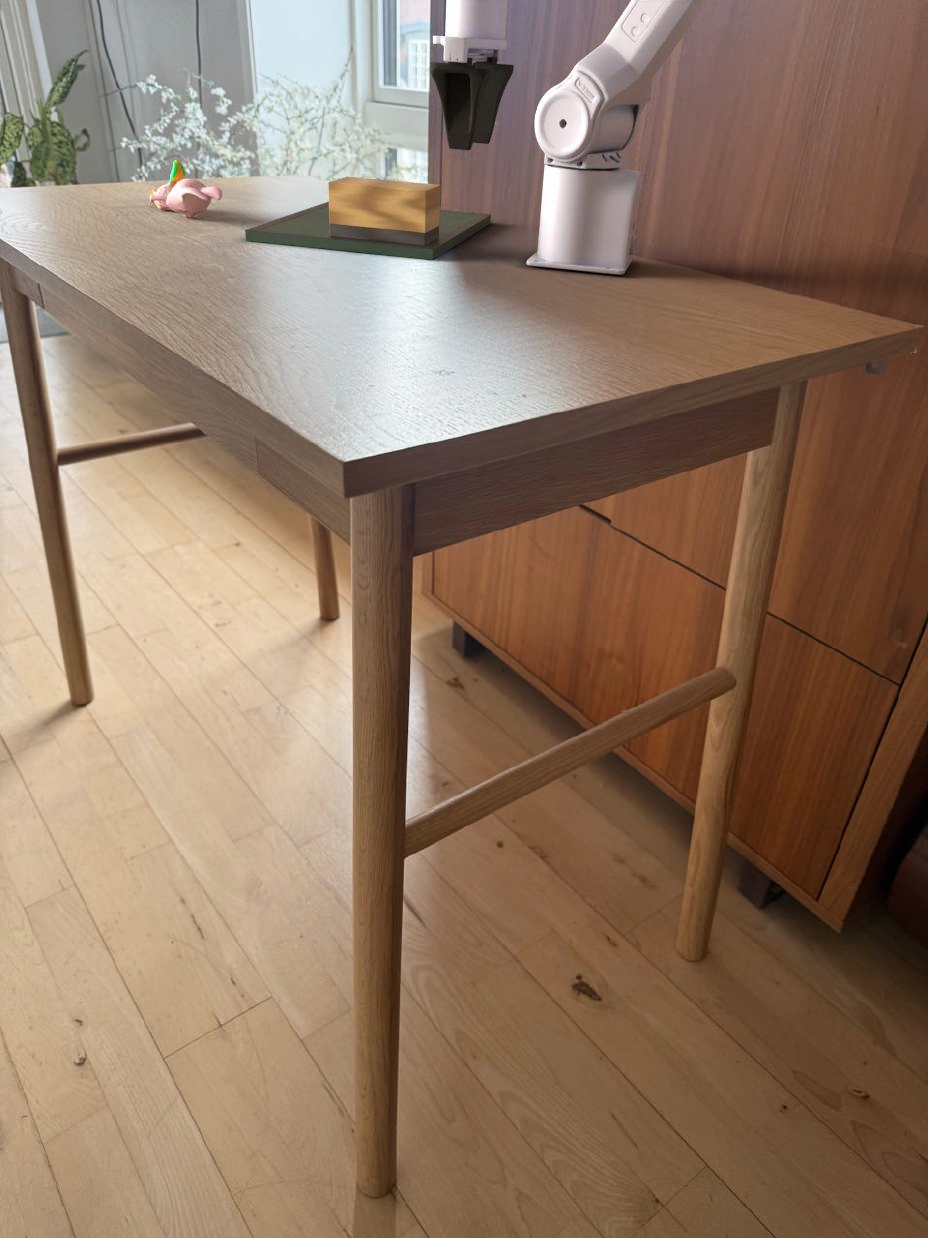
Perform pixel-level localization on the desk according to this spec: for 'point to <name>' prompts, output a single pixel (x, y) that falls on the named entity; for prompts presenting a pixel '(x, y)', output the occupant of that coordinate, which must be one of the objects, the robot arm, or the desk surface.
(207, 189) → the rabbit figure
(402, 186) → the eraser
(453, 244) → the chalkboard
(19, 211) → the desk surface
